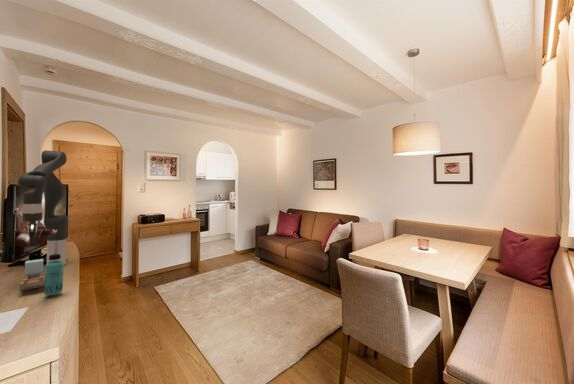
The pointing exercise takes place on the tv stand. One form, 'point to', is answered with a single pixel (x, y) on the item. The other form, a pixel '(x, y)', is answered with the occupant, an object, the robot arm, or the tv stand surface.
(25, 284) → the beam
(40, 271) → the grey rectangular block
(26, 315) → the tv stand surface
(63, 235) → the robot arm
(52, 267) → the beverage bottle
